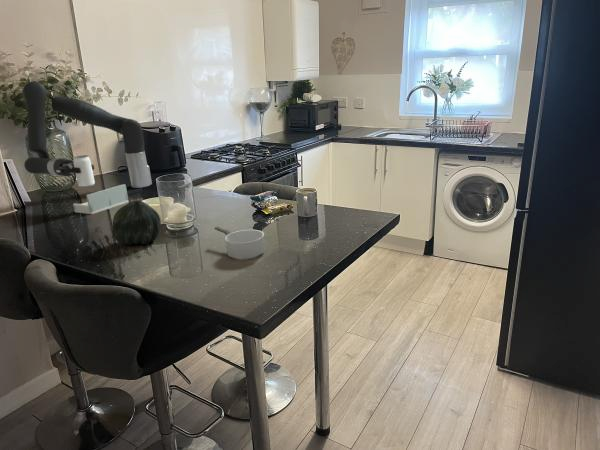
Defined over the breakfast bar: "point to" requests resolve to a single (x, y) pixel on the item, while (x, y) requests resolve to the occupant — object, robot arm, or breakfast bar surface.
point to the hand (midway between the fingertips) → (86, 168)
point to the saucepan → (243, 243)
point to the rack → (103, 200)
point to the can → (84, 171)
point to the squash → (136, 223)
